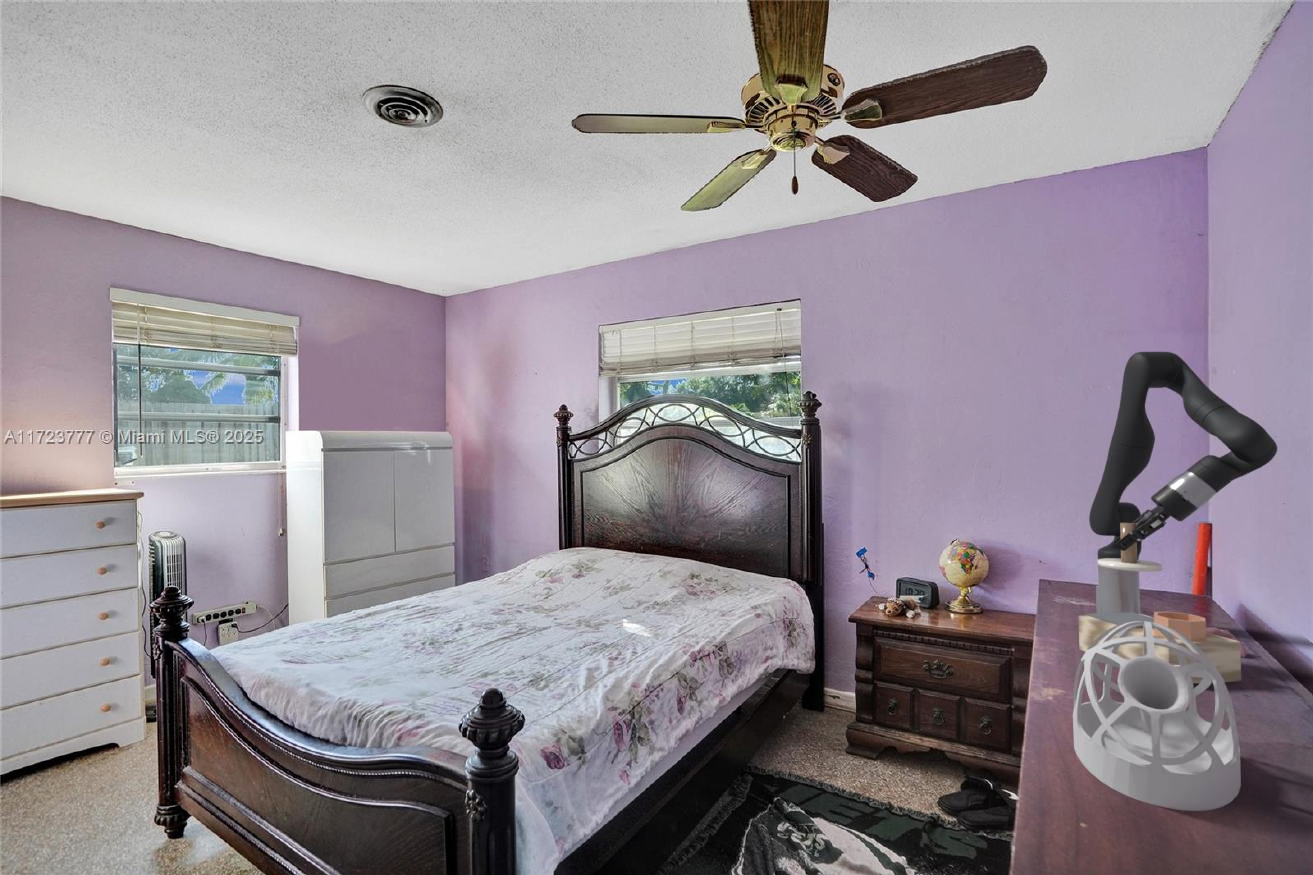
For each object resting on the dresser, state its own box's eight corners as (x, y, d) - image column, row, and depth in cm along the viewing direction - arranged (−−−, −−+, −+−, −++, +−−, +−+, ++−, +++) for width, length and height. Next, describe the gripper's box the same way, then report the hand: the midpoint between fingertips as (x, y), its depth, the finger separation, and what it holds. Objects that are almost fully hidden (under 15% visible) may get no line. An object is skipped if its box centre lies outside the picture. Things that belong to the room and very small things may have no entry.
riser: (1079, 649, 154) (1078, 615, 154) (1141, 647, 155) (1140, 613, 155) (1169, 684, 130) (1168, 644, 130) (1241, 681, 131) (1240, 641, 132)
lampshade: (1076, 721, 112) (1229, 751, 100) (1067, 784, 90) (1261, 832, 79) (1073, 603, 112) (1225, 619, 101) (1063, 637, 91) (1256, 663, 79)
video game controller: (1236, 660, 150) (1224, 629, 154) (1250, 656, 146) (1238, 625, 150) (1190, 659, 151) (1180, 628, 154) (1203, 655, 147) (1192, 624, 150)
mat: (1086, 615, 154) (1086, 613, 154) (1132, 614, 155) (1132, 612, 155) (1128, 628, 142) (1128, 626, 142) (1177, 626, 143) (1177, 625, 143)
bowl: (1144, 630, 140) (1143, 612, 140) (1179, 629, 141) (1179, 611, 141) (1179, 641, 132) (1179, 622, 132) (1217, 640, 132) (1216, 620, 133)
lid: (1085, 563, 155) (1084, 521, 155) (1131, 562, 156) (1130, 520, 156) (1126, 572, 143) (1125, 526, 143) (1176, 570, 144) (1175, 525, 144)
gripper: (1161, 482, 152) (1100, 531, 158) (1174, 485, 140) (1107, 538, 145) (1190, 505, 149) (1127, 555, 155) (1206, 510, 137) (1137, 563, 143)
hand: (1118, 546), depth 150 cm, fingers closed on lid, 3 cm apart
